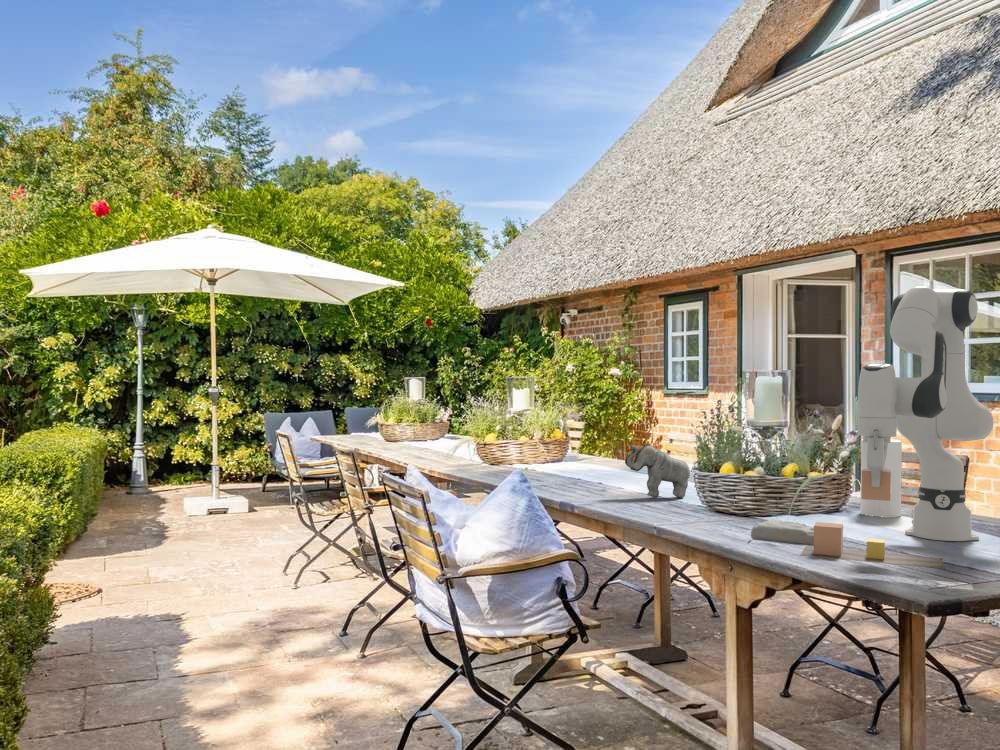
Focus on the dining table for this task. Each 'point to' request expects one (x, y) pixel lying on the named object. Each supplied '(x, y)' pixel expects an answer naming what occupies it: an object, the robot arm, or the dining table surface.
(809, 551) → the board
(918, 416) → the robot arm
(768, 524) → the stone
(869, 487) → the wooden block
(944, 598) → the dining table surface
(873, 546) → the cube
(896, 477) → the cylinder
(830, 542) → the peach block
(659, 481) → the grey animal figurine
